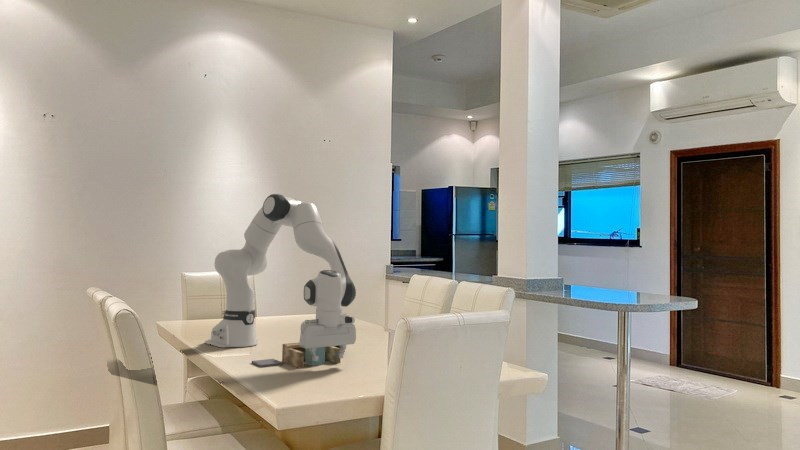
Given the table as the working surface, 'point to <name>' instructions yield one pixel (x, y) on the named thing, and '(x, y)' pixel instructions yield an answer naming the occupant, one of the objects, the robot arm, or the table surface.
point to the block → (319, 351)
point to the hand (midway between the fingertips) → (327, 359)
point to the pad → (267, 362)
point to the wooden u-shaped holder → (296, 354)
